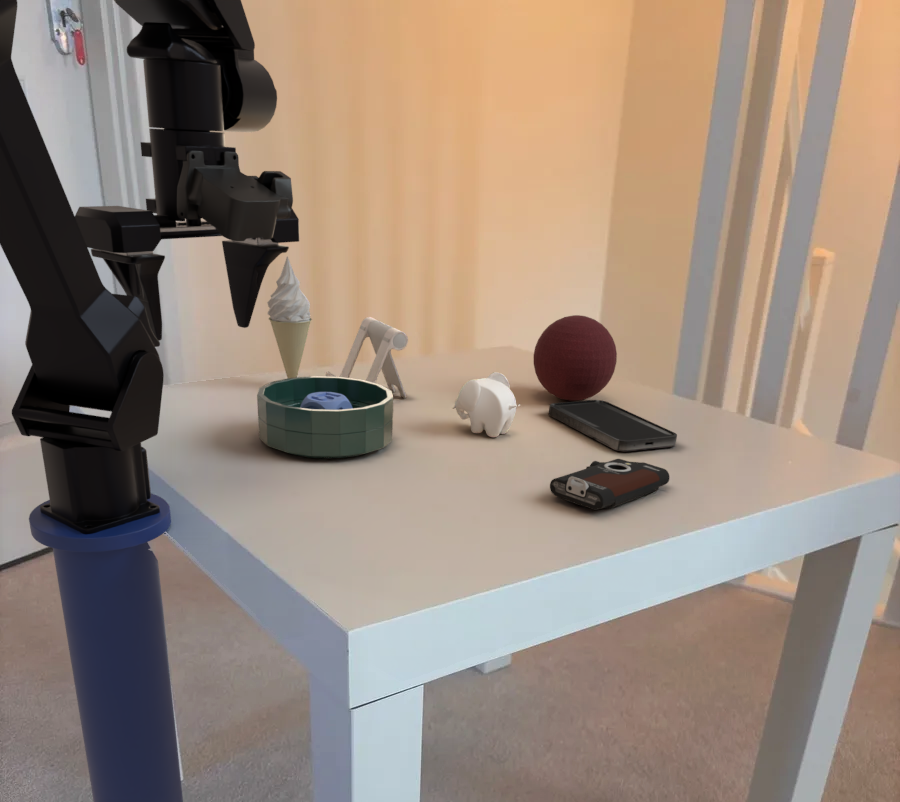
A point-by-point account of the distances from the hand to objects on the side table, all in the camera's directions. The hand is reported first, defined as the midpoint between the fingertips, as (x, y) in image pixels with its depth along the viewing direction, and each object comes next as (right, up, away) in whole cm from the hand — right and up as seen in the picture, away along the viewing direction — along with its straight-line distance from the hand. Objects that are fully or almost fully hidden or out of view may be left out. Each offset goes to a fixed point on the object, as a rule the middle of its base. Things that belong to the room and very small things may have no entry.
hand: (201, 333), depth 79 cm
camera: (+36, -14, +4) cm, 39 cm away
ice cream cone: (+2, +3, +32) cm, 32 cm away
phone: (+39, -4, +22) cm, 45 cm away
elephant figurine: (+25, -5, +20) cm, 32 cm away
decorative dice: (+9, -7, +13) cm, 17 cm away
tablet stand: (+12, +1, +30) cm, 32 cm away
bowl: (+9, -7, +14) cm, 18 cm away
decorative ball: (+36, +1, +34) cm, 50 cm away
